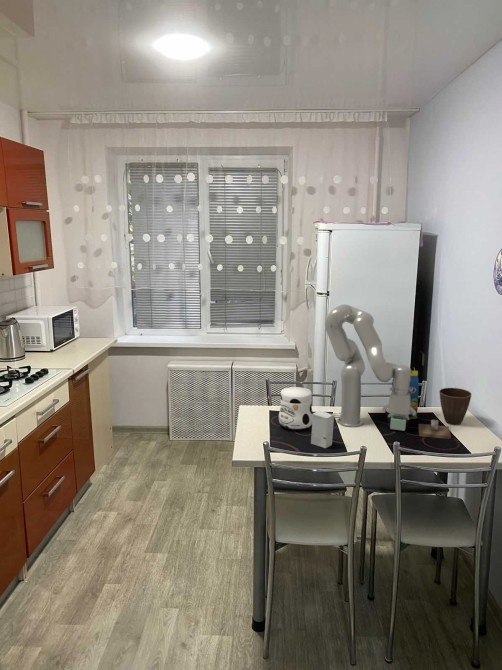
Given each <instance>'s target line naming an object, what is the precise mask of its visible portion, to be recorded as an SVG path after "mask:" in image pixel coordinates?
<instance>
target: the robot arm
mask: <svg viewBox="0 0 502 670" xmlns="http://www.w3.org/2000/svg"><path fill="white" fill-rule="evenodd" d="M345 323H348V324H351V325H353V327H354V330H355V332H356V334H357V336H358V338H359V340H360V342H361V344H362V346H363V348H364V350H365V351H364V352H365V355H366V358H367V360H368V363H369V365H370V368H371V370H372V372H373V374H374V376H375V378H376V379H377V380H378V381H379V382H381V383H387V382H390V381H391V380H392V379H393V378H394V382H393V381H392V382H393V387H392V386H391V387H389V391H391V392H390V396H389V400H388V404H386V405H384V406H382V408H381V409H382V411H383V413H384V414H385V415H386V416H387V424H388V426H389V427H390V424H391V415H392V414H398V415H405V416H406V426H405V429H406V428H408V427H407V426H409V423H410V420H411V419H410V418H412V417H413V416H414V415H415V414H416V411H415V410H414V409H413V408H412V407H411V397H410V394H409V385H410V375H411V371H412V369H411V367H409V366H408V365H405V364H404V365H403V364H401V365H399V364H397V363H396V364H395V363H392V362H387V361H386V360H385V357H384V354H383V353H384V352H383V346H382V345H383V343H382V341H381V339H380V336H379V335H378V333H377V331H376V329H375V327H374V318H373V316H372V315H371V314H370V313H368V312H367V311H364V310H362V309H359V308H356V307H355V306H351V305H349V304H345V303H344V304H340V305H338V306H336V307H334V308H333V309H332V310H331V311H330V312H329V313H328V314H327V316H326V318H325V321H324V328H325V331H326V334H327V337H328V338H329V341H330V344H331V347H332V349H333V352H334V353H335V356H336V358H337V359H338V361H341V362H343V363H344V365H343V366H342V369H341V373H340V376H341V377H340V378H341V406H340V407H341V408H340V409H341V410H340V412H339V413H337V412H332V415H334V419H337V423H338V424H339V425H341V426H343V427H349V428H354V427H355V428H356V427H360V426H363V424H364V420H363V419H362V418H361V406H362V405H361V404H362V401H361V400H362V399H361V398H362V384H361V383H362V376H363V374H364V372H365V370H366V365H365V361H364V359H363V357H362V354H361V351H360V349H359V347H358V344H357V343H356V341H354V340H353V339H351V338H348V336H347V332H346V331H345V329H344V327H343V324H345ZM392 391H393V392H392ZM410 410H411V411H412V414H410ZM409 414H410V415H409Z"/></svg>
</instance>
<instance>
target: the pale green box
mask: <svg viewBox="0 0 502 670" xmlns="http://www.w3.org/2000/svg"><path fill="white" fill-rule="evenodd" d="M405 426H406V416H403V415H395V414H392V415H391V424H390V426H389V429H390V430H397V431H402V432H403V431H404V432H405V430H406V427H405Z"/></svg>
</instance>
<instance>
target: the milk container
mask: <svg viewBox="0 0 502 670" xmlns="http://www.w3.org/2000/svg"><path fill="white" fill-rule="evenodd" d="M312 398H313V394H312V391H311V390H310V389H308V388H307V387H299V386H290V387H285V388H282V390H281V391H280V409H279V412H278V422H279V424H280V425H281V426H282V427H283V428H285V429H288V430H293V431H294V430H297V431H299V430H305V429H308V428H310V427H312V420H313V413H314V412H313V408H312V405H313V399H312Z"/></svg>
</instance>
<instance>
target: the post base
mask: <svg viewBox="0 0 502 670" xmlns="http://www.w3.org/2000/svg"><path fill="white" fill-rule="evenodd" d="M450 431H451V430H450V426H447V425H439V420H438V419H431V420H430V424H427V423H426V424H424V423H418V436H419V437H425V438H426V437H428V438H436V439H447V440H448V439H450V440H451V439H452V435H451V432H450Z"/></svg>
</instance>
